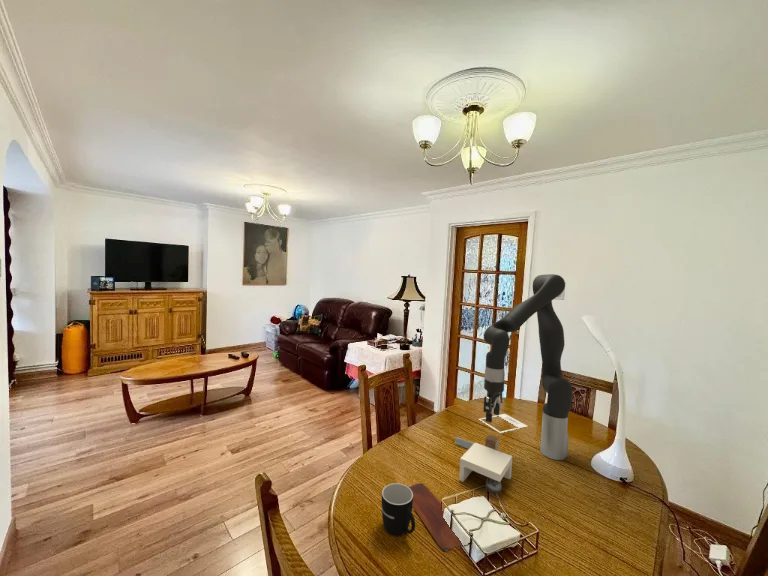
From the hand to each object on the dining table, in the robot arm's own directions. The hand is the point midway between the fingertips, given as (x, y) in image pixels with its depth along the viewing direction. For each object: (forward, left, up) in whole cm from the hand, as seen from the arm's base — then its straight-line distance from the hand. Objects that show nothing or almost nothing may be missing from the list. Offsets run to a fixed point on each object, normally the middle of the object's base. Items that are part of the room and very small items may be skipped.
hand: (492, 418), depth 126 cm
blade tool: (+4, -6, -17) cm, 18 cm away
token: (+9, +17, -17) cm, 25 cm away
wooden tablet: (+34, +23, -17) cm, 45 cm away
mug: (+46, +28, -17) cm, 56 cm away
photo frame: (-23, -27, -17) cm, 39 cm away
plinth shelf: (+9, +11, -17) cm, 22 cm away
